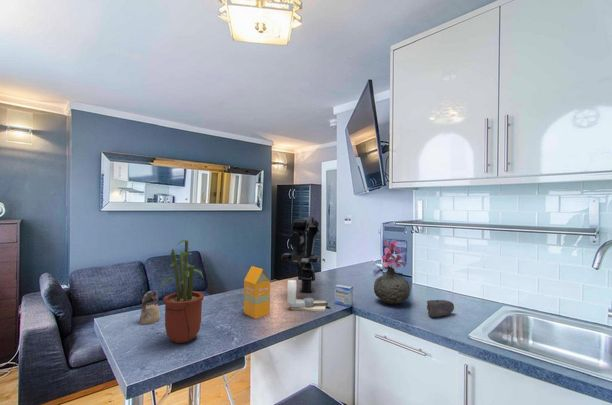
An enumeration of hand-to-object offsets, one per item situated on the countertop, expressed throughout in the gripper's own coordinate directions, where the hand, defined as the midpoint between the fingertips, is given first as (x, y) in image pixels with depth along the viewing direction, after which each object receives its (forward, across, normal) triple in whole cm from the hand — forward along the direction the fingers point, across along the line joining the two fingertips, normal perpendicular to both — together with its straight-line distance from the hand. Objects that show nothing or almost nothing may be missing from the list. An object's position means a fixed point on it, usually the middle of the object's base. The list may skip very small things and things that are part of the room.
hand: (300, 274), depth 148 cm
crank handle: (+11, +7, -12) cm, 18 cm away
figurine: (+12, -50, -45) cm, 68 cm away
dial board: (+12, +9, -9) cm, 17 cm away
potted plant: (+12, -29, -54) cm, 63 cm away
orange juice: (+12, -12, -25) cm, 31 cm away
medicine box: (+12, +22, -2) cm, 26 cm away
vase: (+12, +44, +7) cm, 47 cm away
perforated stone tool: (+12, +65, -3) cm, 66 cm away
